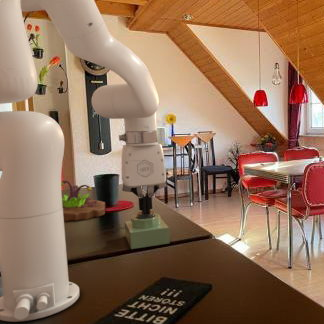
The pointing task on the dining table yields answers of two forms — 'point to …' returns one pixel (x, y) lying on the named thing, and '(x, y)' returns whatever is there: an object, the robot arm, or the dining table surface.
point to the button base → (146, 232)
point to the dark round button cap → (145, 215)
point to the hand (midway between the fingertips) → (145, 212)
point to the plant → (80, 205)
